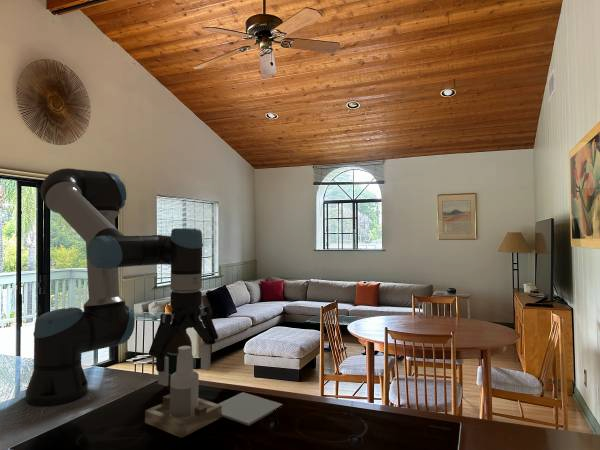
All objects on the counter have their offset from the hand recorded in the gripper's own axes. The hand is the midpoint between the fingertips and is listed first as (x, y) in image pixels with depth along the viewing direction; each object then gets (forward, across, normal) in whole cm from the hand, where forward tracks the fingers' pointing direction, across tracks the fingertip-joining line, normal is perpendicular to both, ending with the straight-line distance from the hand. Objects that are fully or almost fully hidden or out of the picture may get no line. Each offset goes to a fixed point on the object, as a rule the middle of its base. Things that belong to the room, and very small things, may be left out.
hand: (185, 376), depth 108 cm
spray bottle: (+11, 0, 0) cm, 11 cm away
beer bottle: (+11, +14, +18) cm, 26 cm away
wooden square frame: (+11, 0, 0) cm, 11 cm away
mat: (+11, +14, -8) cm, 19 cm away
